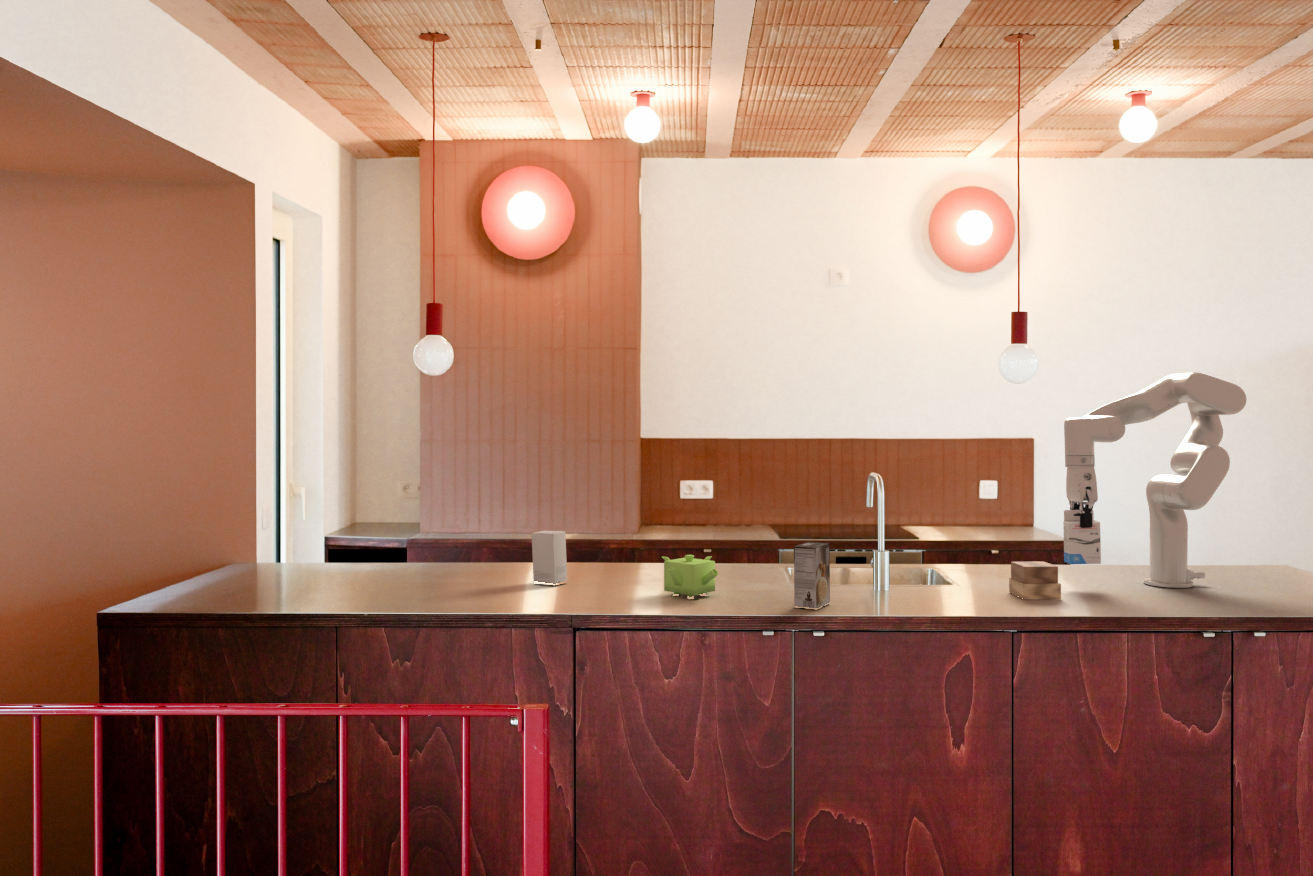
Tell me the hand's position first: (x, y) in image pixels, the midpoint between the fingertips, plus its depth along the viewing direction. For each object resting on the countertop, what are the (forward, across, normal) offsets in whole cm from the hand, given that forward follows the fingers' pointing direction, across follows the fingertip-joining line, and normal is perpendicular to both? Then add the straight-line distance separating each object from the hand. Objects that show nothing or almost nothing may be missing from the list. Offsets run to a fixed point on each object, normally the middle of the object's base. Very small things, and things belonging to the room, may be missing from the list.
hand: (1081, 525), depth 264 cm
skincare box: (+13, +11, +151) cm, 152 cm away
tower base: (+18, -10, +18) cm, 27 cm away
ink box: (+11, 0, 0) cm, 11 cm away
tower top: (+13, -10, +18) cm, 24 cm away
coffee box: (+15, -23, +79) cm, 84 cm away
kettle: (+14, -7, +110) cm, 111 cm away
